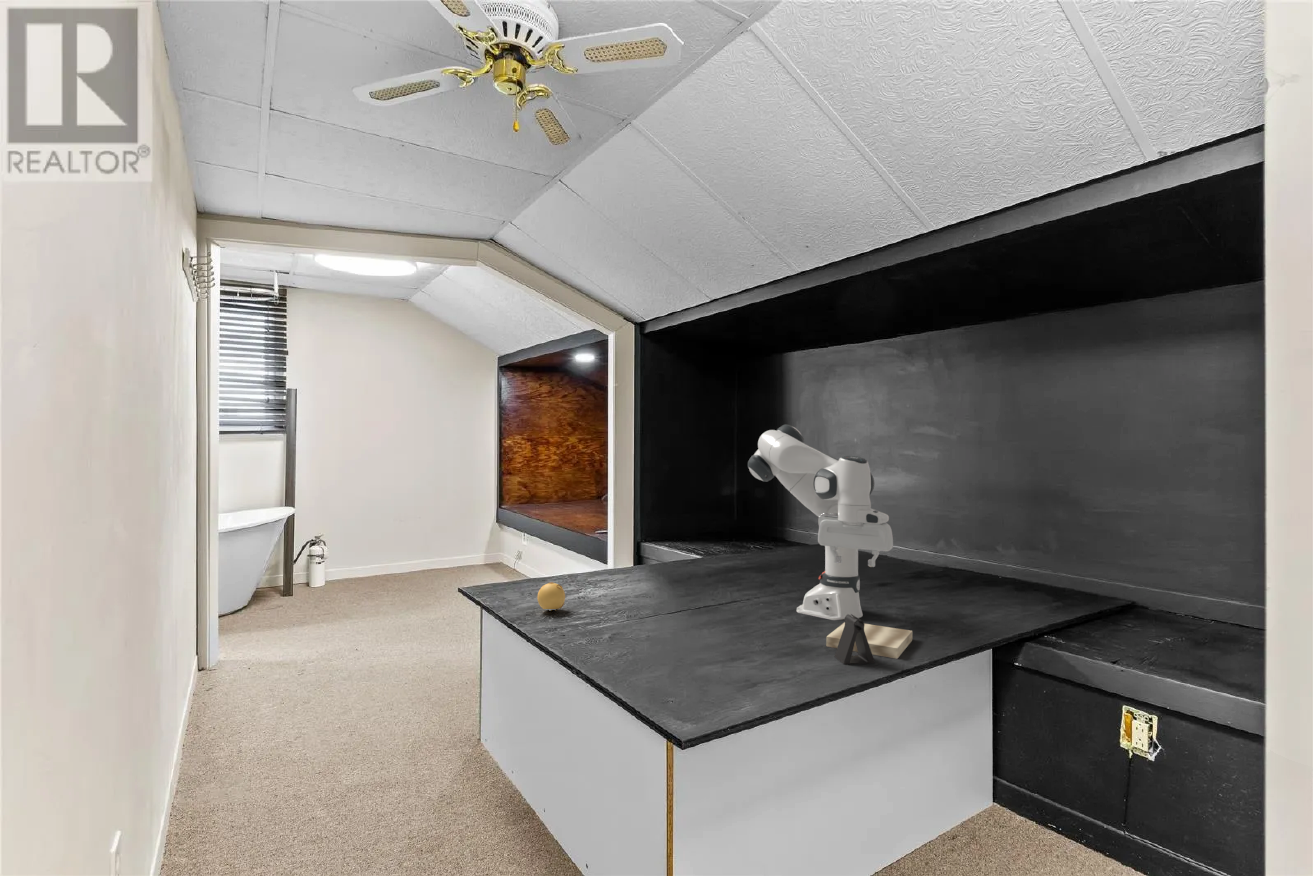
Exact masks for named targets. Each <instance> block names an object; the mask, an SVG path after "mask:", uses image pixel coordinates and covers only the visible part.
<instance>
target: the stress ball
mask: <svg viewBox="0 0 1313 876" xmlns="http://www.w3.org/2000/svg"><path fill="white" fill-rule="evenodd" d="M565 601H566V592H565V590H564V587H563V586H562V585H560V584H558V583H556V582H553V581H551V582H548V583H546V584H543V585H542V586H541V588H539V590H538V593H537V603H538V605H539V606H540V608H541V609H543V610H544V609H558V610H559V609H562V608H563V607H564V605H565Z"/></svg>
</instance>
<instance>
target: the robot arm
mask: <svg viewBox="0 0 1313 876" xmlns="http://www.w3.org/2000/svg"><path fill="white" fill-rule="evenodd" d="M757 448H758V449H757V450H756V451H755V452H754V454H753V455H751V457H750V458H749V460H748V461H747V468H748V469H749V470H748V471H749V472H750V474H751V475H752V476H753V477H754V478H755V479H756V480H759V481H762V482H763V483H764V482H769V481H771V480H772V479H774V478H775V477H776V478H777V480H778V481H779V482H780V484H781V485H783V487H784V488H785V489H786V490H787V491H788V492H790V494H791V495H793V497H795V498H796V500H798V501H799V502H800V503H801V504H802V505H803V506H804V507H805V508H807V509H808V510H809V511H811V512H812V513H813V514H814V515H815V516H816V517H818V522H817V523H818V534H817V542H818V544H819V545H820V546H824V550H825V552H824V554H825V555H824V556H825V559H824V561H825V562H824V563H825V565H824V567H825V568H824V571H823V572H822V573H821V574H820V575H819V576H818V580H819V584H817V585H815V586H813V588H811V589H810V590H808V591H807V592H806V593H805V595H804V597H803V601H802V604H800V605H799V606H797V607H796V612H797V613H798V614H801V615H802V614H803V615H808V616H811V617H812V616H813V617H817V618H821V619H827V620H831V621H841V620H845V616H846V615H847V614H848V615H850V616H851V614H852V615H854V616H855V617H857V618H859V619H860V618H862V617H863V615H864V614H863V611H862V607H861V601H860V593H859V592H860V590H861V589H860V586H861V581H860V575H859V550H865V551H871V555H873V556H872V558H870V559H868V560H867V567H870V568H874V567H876V560H877V558H878V557H879V555H880V552H887V553H888V552H889V551H891V550H892V549H893V547H894V539H893V538H894V537H893V530H892V527H891V525H890V524H889V523H888V522H889V520H890V516H889V515H888V514H887V513H884V512H882V511H879V510H877V509H874V508H872V502H871V498H870V496H871V494H872V493H873V491H874V488H875V478H874V475H873V474H872V473H871V467H870V464H869V461H868V460H867V459H866V458H863V457H861V456H855V455H843V456H841V457H839V459H838V458H835V457H833V456H831V455H829V454H827V453H825V452H822V451H819V450H818V449H816V448H814V447H812V446H809V445H808V444H806V443H805V439H804V436H803V435H802V433H801V432H800V431H799V429H797V427H794V426H792V425H790V424H783V425H781V426H780V427H778V428H777V429H776V430H775V429H769V430H766V431H764V432H763V433H762V434H761V435H760V436H759V438H758V441H757ZM852 617H853V616H852Z"/></svg>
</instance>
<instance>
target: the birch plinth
mask: <svg viewBox="0 0 1313 876" xmlns="http://www.w3.org/2000/svg"><path fill="white" fill-rule="evenodd" d="M844 626H845V621H844V622H843V623H842V624H840V625H839V626H838V627H837V628H835V629H834V630H833V631H832V632H830V633H828V635H827V636H826V642H825V645H826V648H827V647H828V648H832V649H834V648H835V649H837V647H838V644H839V641H840V638H841V635H842V632H843V629H844ZM864 632H865V635H866V638H867V641H868V644H869V646H870V649H871V652H872V655H874V656H879V657H880V656H881V657H884V658H885V657H886V658H891V659H896V660H897V659H898V658H899V657H900V656H901V655H902V654H903V652H905V650H906V648H907V647H909V645H910V644H911V643H912V641H913V630H909V629H903V628H897V627H896V628H895V627H889V626H882V625H874V624H869V623H864ZM853 652H856V653H858V650H857V646H856V642H855V644H854V648H853Z"/></svg>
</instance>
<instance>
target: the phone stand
mask: <svg viewBox="0 0 1313 876" xmlns="http://www.w3.org/2000/svg"><path fill="white" fill-rule="evenodd" d="M852 616H853V617H852ZM844 622H845V626H844V629H843V632H842V635H841V638H840V641H839V644H838V647H837V648H836V650H835V654H834V658H835V659H836V660H838V661H839V662H840V663H841V664H842V665H858V664H859V665H860V664H862V665H863V664H875V658H874V656H873V654H872V652H871V649H870V646H869V644H868V641H867V638H866V635H865V632H864V624H865V622H864V620H862V619H860V618H857V617H855V616H854V615H852V614H851V616H850V615H848V614H847V615H846V616H845V619H844ZM855 642H856V646H857V650H858V652H857V653H858V655H853V652H854V651H853V648H854V644H855Z"/></svg>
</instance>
